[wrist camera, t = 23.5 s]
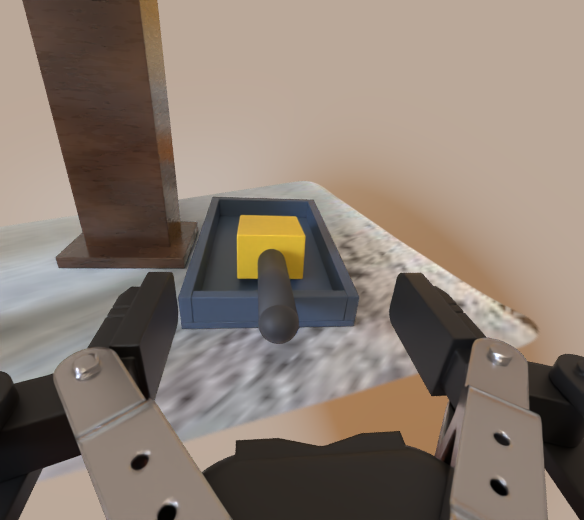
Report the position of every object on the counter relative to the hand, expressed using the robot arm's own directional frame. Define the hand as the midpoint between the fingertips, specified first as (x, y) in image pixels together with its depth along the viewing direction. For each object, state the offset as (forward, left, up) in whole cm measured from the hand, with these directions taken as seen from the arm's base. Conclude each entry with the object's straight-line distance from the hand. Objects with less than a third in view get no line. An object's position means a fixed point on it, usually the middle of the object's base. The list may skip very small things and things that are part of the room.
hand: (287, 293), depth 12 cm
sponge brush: (0, +10, -7) cm, 12 cm away
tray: (0, +17, -8) cm, 19 cm away
